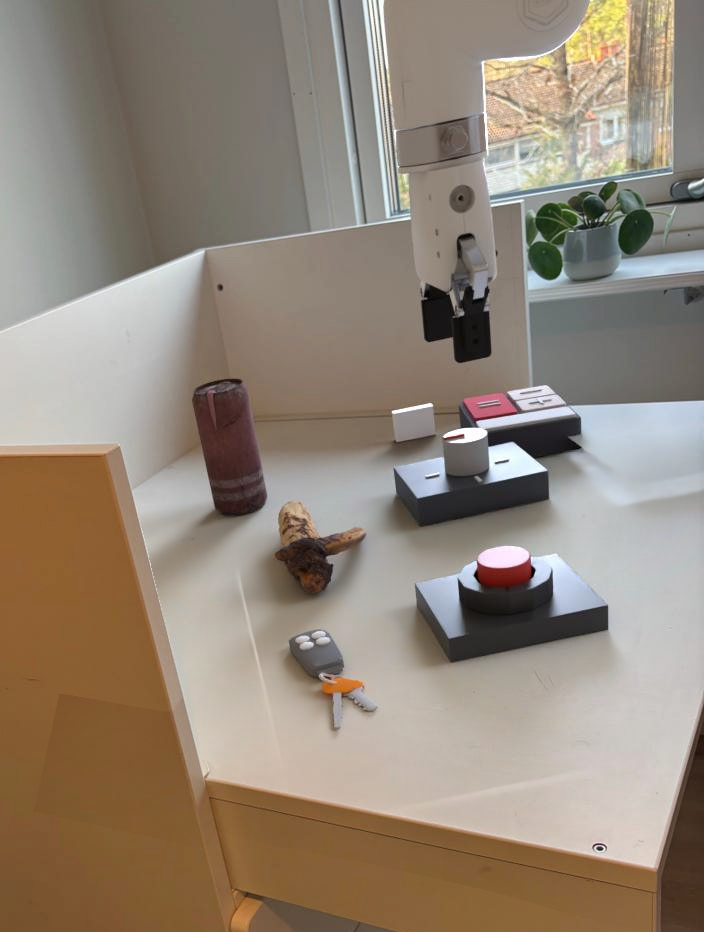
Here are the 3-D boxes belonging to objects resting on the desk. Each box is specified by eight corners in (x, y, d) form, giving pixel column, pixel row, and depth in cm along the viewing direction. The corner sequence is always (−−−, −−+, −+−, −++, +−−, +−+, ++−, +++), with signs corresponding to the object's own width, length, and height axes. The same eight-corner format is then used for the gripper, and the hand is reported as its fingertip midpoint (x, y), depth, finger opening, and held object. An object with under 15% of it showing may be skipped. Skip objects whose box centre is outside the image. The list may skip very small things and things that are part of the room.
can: (211, 520, 107) (185, 398, 101) (219, 499, 113) (195, 381, 106) (265, 513, 106) (241, 388, 99) (270, 492, 111) (248, 373, 105)
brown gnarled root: (386, 591, 85) (354, 514, 101) (383, 543, 83) (350, 472, 98) (283, 608, 86) (266, 528, 101) (276, 560, 83) (260, 487, 99)
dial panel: (514, 468, 103) (513, 440, 102) (549, 499, 95) (548, 468, 93) (396, 493, 104) (392, 465, 102) (420, 526, 95) (417, 497, 93)
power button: (520, 561, 76) (519, 541, 76) (539, 582, 73) (538, 561, 72) (471, 572, 76) (469, 552, 76) (487, 593, 73) (486, 572, 72)
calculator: (550, 381, 115) (581, 410, 102) (551, 416, 117) (583, 449, 104) (457, 397, 117) (476, 427, 104) (460, 431, 119) (479, 465, 105)
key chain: (284, 651, 79) (282, 635, 78) (327, 638, 79) (325, 623, 78) (336, 732, 67) (333, 714, 67) (385, 717, 68) (383, 699, 67)
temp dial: (481, 457, 100) (479, 421, 98) (495, 470, 96) (493, 433, 94) (440, 466, 100) (436, 431, 98) (452, 479, 96) (449, 443, 94)
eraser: (435, 434, 118) (433, 405, 116) (396, 442, 118) (393, 413, 116) (433, 431, 119) (430, 402, 117) (394, 439, 119) (391, 411, 118)
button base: (557, 576, 81) (555, 533, 79) (608, 630, 72) (608, 583, 70) (416, 606, 81) (412, 563, 79) (451, 663, 72) (446, 617, 70)
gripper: (521, 136, 74) (530, 359, 82) (454, 136, 89) (466, 324, 97) (426, 157, 74) (444, 378, 82) (374, 154, 89) (394, 340, 97)
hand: (456, 348), depth 89 cm, fingers open, 9 cm apart
